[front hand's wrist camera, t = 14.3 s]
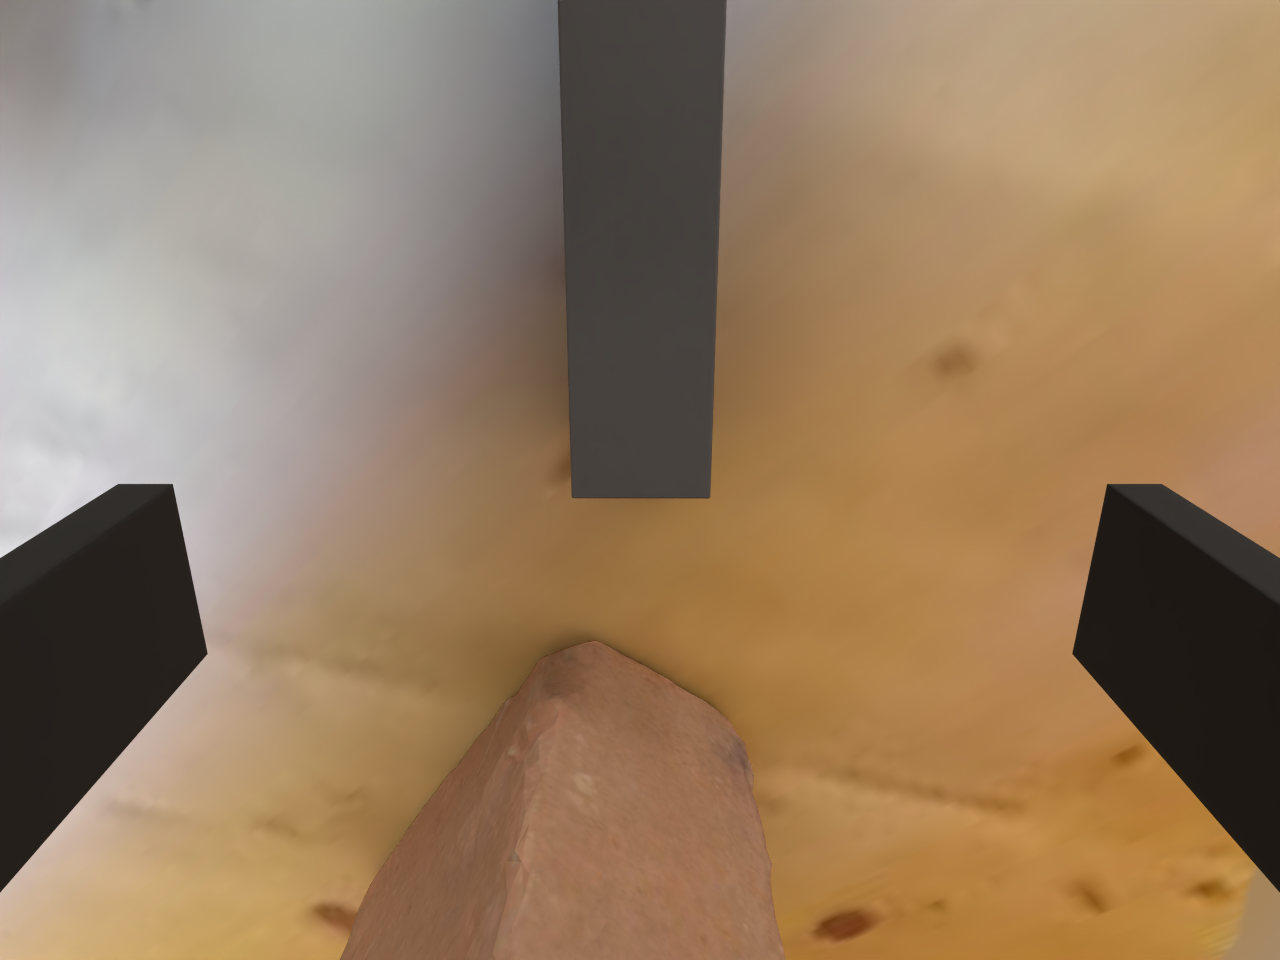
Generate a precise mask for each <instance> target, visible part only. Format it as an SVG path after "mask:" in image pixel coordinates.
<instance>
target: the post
mask: <svg viewBox="0 0 1280 960" xmlns="http://www.w3.org/2000/svg"><path fill="white" fill-rule="evenodd" d="M558 25H559V61H560V96H561V131H562V167H563V202H564V238H565V273H566V308H567V344H568V379H569V414H570V450H571V485H572V498H710V488H711V457H712V426H713V396H714V365H715V335H716V304H717V273H718V243H719V212H720V181H721V151H722V120H723V90H724V59H725V28H726V0H558Z"/></svg>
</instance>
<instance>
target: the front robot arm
mask: <svg viewBox="0 0 1280 960" xmlns="http://www.w3.org/2000/svg"><path fill="white" fill-rule="evenodd" d="M206 655H207V649H206V644H205V639H204V634H203V629H202V624H201V620H200V615H199V610H198V605H197V600H196V595H195V590H194V585H193V581H192V576H191V571H190V566H189V561H188V556H187V551H186V547H185V542H184V537H183V532H182V527H181V522H180V517H179V512H178V508H177V503H176V498H175V493H174V488H173V484H118V485H116V486H114V487H113V488H111V489H110V490H108V491H106V492H105V493H103V494H102V495H100V496H99V497H97V498H95V499H94V500H92V501H91V502H89V503H87V504H86V505H84V506H83V507H81V508H79V509H78V510H76V511H75V512H73V513H71V514H70V515H68V516H67V517H65V518H63V519H62V520H60V521H59V522H57V523H56V524H54V525H52V526H51V527H49V528H48V529H46V530H44V531H43V532H41V533H40V534H38V535H36V536H35V537H33V538H32V539H30V540H28V541H27V542H25V543H24V544H22V545H21V546H19V547H17V548H16V549H14V550H13V551H11V552H9V553H8V554H6V555H5V556H3V557H1V558H0V892H1V891H2V890H3V889H4V887H5V886H6V885H7V884H8V883H9V882H10V881H11V879H12V878H13V877H14V876H15V875H16V874H17V873H18V871H19V870H20V869H21V868H22V867H23V866H24V864H25V863H26V862H27V861H28V860H29V859H30V858H31V856H32V855H33V854H34V853H35V852H36V851H37V850H38V848H39V847H40V846H41V845H42V844H43V843H44V841H45V840H46V839H47V838H48V837H49V836H50V835H51V833H52V832H53V831H54V830H55V829H56V828H57V826H58V825H59V824H60V823H61V822H62V821H63V820H64V818H65V817H66V816H67V815H68V814H69V813H70V812H71V810H72V809H73V808H74V807H75V806H76V805H77V803H78V802H79V801H80V800H81V799H82V798H83V797H84V795H85V794H86V793H87V792H88V791H89V790H90V789H91V787H92V786H93V785H94V784H95V783H96V782H97V780H98V779H99V778H100V777H101V776H102V775H103V774H104V772H105V771H106V770H107V769H108V768H109V767H110V766H111V764H112V763H113V762H114V761H115V760H116V759H117V757H118V756H119V755H120V754H121V753H122V752H123V751H124V749H125V748H126V747H127V746H128V745H129V744H130V742H131V741H132V740H133V739H134V738H135V737H136V736H137V734H138V733H139V732H140V731H141V730H142V729H143V728H144V726H145V725H146V724H147V723H148V722H149V721H150V719H151V718H152V717H153V716H154V715H155V714H156V713H157V711H158V710H159V709H160V708H161V707H162V706H163V705H164V703H165V702H166V701H167V700H168V699H169V698H170V696H171V695H172V694H173V693H174V692H175V691H176V690H177V688H178V687H179V686H180V685H181V684H182V683H183V682H184V680H185V679H186V678H187V677H188V676H189V675H190V673H191V672H192V671H193V670H194V669H195V668H196V667H197V665H198V664H199V663H200V662H201V661H202V660H203V658H204V657H205V656H206ZM1073 655H1074V656H1075V657H1076V658H1077V660H1078V661H1079V662H1080V663H1081V664H1082V665H1083V667H1084V668H1085V669H1086V670H1087V671H1088V672H1089V673H1090V675H1091V676H1092V677H1093V678H1094V679H1095V680H1096V682H1097V683H1098V684H1099V685H1100V686H1101V687H1102V688H1103V690H1104V691H1105V692H1106V693H1107V694H1108V695H1109V696H1110V698H1111V699H1112V700H1113V701H1114V702H1115V703H1116V705H1117V706H1118V707H1119V708H1120V709H1121V710H1122V711H1123V713H1124V714H1125V715H1126V716H1127V717H1128V718H1129V719H1130V721H1131V722H1132V723H1133V724H1134V725H1135V726H1136V728H1137V729H1138V730H1139V731H1140V732H1141V733H1142V734H1143V736H1144V737H1145V738H1146V739H1147V740H1148V741H1149V742H1150V744H1151V745H1152V746H1153V747H1154V748H1155V749H1156V751H1157V752H1158V753H1159V754H1160V755H1161V756H1162V757H1163V759H1164V760H1165V761H1166V762H1167V763H1168V764H1169V766H1170V767H1171V768H1172V769H1173V770H1174V771H1175V772H1176V774H1177V775H1178V776H1179V777H1180V778H1181V779H1182V780H1183V782H1184V783H1185V784H1186V785H1187V786H1188V787H1189V789H1190V790H1191V791H1192V792H1193V793H1194V794H1195V795H1196V797H1197V798H1198V799H1199V800H1200V801H1201V802H1202V803H1203V805H1204V806H1205V807H1206V808H1207V809H1208V810H1209V812H1210V813H1211V814H1212V815H1213V816H1214V817H1215V818H1216V820H1217V821H1218V822H1219V823H1220V824H1221V825H1222V826H1223V828H1224V829H1225V830H1226V831H1227V832H1228V833H1229V835H1230V836H1231V837H1232V838H1233V839H1234V840H1235V841H1236V843H1237V844H1238V845H1239V846H1240V847H1241V848H1242V850H1243V851H1244V852H1245V853H1246V854H1247V855H1248V856H1249V858H1250V859H1251V860H1252V861H1253V862H1254V863H1255V864H1256V866H1257V867H1258V868H1259V869H1260V870H1261V871H1262V872H1263V874H1264V875H1265V876H1266V877H1267V878H1268V879H1269V881H1270V882H1271V883H1272V884H1273V885H1274V886H1275V887H1276V889H1277V890H1278V891H1279V892H1280V558H1279V557H1277V556H1275V555H1274V554H1272V553H1271V552H1269V551H1267V550H1266V549H1264V548H1263V547H1261V546H1259V545H1258V544H1256V543H1255V542H1253V541H1252V540H1250V539H1248V538H1247V537H1245V536H1244V535H1242V534H1240V533H1239V532H1237V531H1236V530H1234V529H1232V528H1231V527H1229V526H1228V525H1226V524H1224V523H1223V522H1221V521H1220V520H1218V519H1217V518H1215V517H1213V516H1212V515H1210V514H1209V513H1207V512H1205V511H1204V510H1202V509H1201V508H1199V507H1197V506H1196V505H1194V504H1193V503H1191V502H1189V501H1188V500H1186V499H1185V498H1183V497H1181V496H1180V495H1178V494H1177V493H1175V492H1174V491H1172V490H1170V489H1169V488H1167V487H1166V486H1164V485H1162V484H1107V488H1106V493H1105V498H1104V503H1103V508H1102V512H1101V517H1100V522H1099V527H1098V532H1097V537H1096V542H1095V546H1094V551H1093V556H1092V561H1091V566H1090V571H1089V576H1088V581H1087V585H1086V590H1085V595H1084V600H1083V605H1082V610H1081V615H1080V620H1079V624H1078V629H1077V634H1076V639H1075V644H1074V649H1073Z"/></svg>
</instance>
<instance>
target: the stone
mask: <svg viewBox="0 0 1280 960" xmlns="http://www.w3.org/2000/svg"><path fill="white" fill-rule="evenodd" d="M753 779H754V775H753V771H752V767H751V763H750V762H749V759H748V755H747V750H746V746H745V743H744V742H743V741H742V739H741V738H740V737H739V736H738V735H737V733H736V731H735V729H734V728H733V726H732V724H731V723H730V721H729V720H728V719H727V718H725V717H724V716H723V715H722V714H720V713H719V712H718V711H717V710H716V709H714V708H713V707H712V706H710V705H709V704H708V703H706V702H705V701H704V700H702V699H700V698H698V697H696V696H694V695H692V694H690V693H689V692H687V691H685V690H683V689H682V688H680V687H678V686H677V685H675V684H674V683H673V682H671V681H669V680H668V679H666V678H665V677H663V676H661V675H659V674H657V673H655V672H654V671H652V670H650V669H649V668H647V667H646V666H644V665H642V664H640V663H638V662H636V661H634V660H632V659H630V658H628V657H626V656H624V655H622V654H620V653H619V652H617V651H615V650H614V649H612V648H611V647H609V646H607V645H604V644H602V643H600V642H598V641H592V642H586V643H582V644H579V645H575V646H572V647H569V648H567V649H564V650H561V651H559V652H556V653H553V654H551V655H548V656H545V657H543V658H541V659H540V660H539V661H538V662H537V664H536V665H535V667H534V668H533V670H532V671H531V673H530V675H529V676H528V678H527V679H526V681H525V683H524V684H523V686H522V687H521V689H520V691H519V692H518V694H517V695H515V696H513V697H511V698H509V699H507V700H506V702H505V703H504V704H503V706H502V707H501V708H500V710H499V711H498V712H497V714H496V715H495V717H494V719H493V721H492V722H491V724H490V725H489V726H488V727H487V728H486V730H485V731H484V732H483V733H482V734H481V735H480V736H479V737H478V739H477V740H476V741H475V742H474V744H473V745H472V746H471V748H470V749H469V750H468V751H467V753H466V754H465V756H464V757H463V759H462V760H461V762H460V763H459V765H458V766H457V768H455V769H454V770H453V771H452V772H450V773H449V774H448V776H447V777H446V778H445V780H444V781H443V782H442V784H441V785H440V786H439V788H438V789H437V790H436V792H435V793H434V794H433V796H432V797H431V798H430V800H429V801H428V802H427V804H426V805H425V806H424V808H423V809H422V810H421V812H420V813H419V815H418V816H417V817H416V819H415V820H414V822H413V823H412V825H411V826H410V828H409V829H408V830H407V832H406V833H405V835H404V836H403V838H402V839H401V841H400V842H399V844H398V845H397V847H396V848H395V849H394V851H393V852H392V854H391V855H390V857H389V858H388V860H387V861H386V862H385V864H384V865H383V867H382V868H381V869H380V871H379V872H378V874H377V875H376V877H375V878H374V880H373V882H372V883H371V885H370V886H369V889H368V891H367V893H366V895H365V897H364V899H363V901H362V903H361V905H360V907H359V909H358V911H357V915H356V918H355V921H354V924H353V927H352V931H351V934H350V937H349V940H348V943H347V945H346V947H345V949H344V952H343V954H342V956H341V958H340V960H785V954H784V949H783V945H782V941H781V937H780V933H779V930H778V926H777V922H776V918H775V912H774V905H773V899H772V893H771V883H770V875H771V867H772V864H771V861H770V858H769V855H768V852H767V849H766V843H765V837H764V831H763V826H762V823H761V819H760V815H759V811H758V807H757V805H756V802H755V799H754V796H753Z"/></svg>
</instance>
